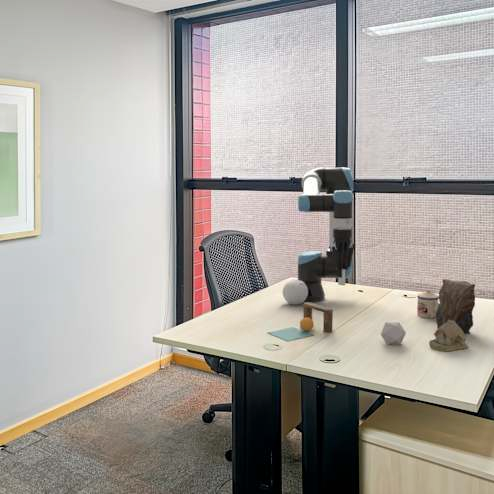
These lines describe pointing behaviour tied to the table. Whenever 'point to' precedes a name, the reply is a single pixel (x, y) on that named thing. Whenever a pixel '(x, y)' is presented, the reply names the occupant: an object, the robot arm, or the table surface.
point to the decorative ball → (295, 292)
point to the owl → (456, 304)
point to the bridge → (326, 315)
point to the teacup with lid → (427, 304)
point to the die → (393, 333)
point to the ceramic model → (448, 338)
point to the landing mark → (290, 334)
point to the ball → (306, 324)
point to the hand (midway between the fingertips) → (341, 284)
